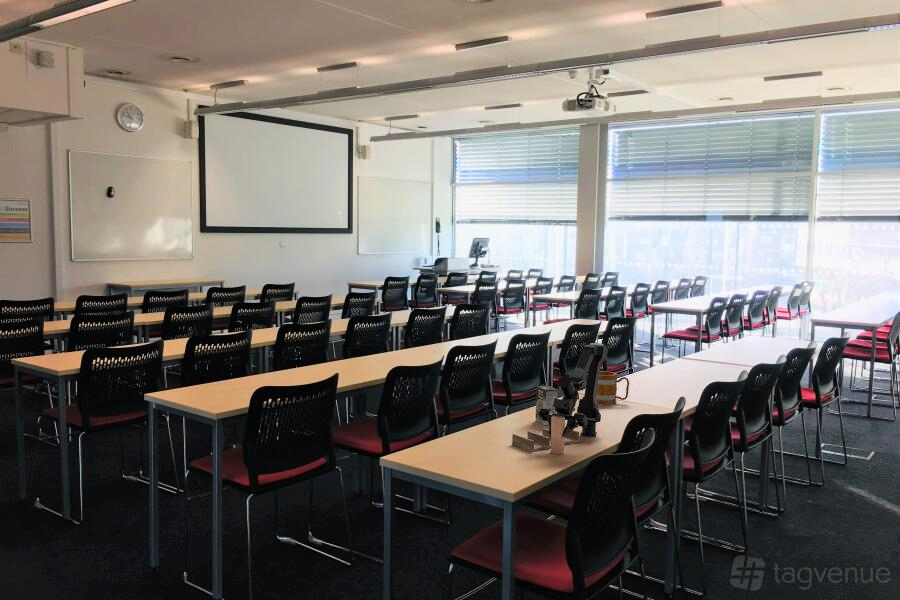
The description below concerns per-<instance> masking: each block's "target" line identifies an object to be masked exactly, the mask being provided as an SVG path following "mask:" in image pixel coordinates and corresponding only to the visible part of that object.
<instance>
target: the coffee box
mask: <svg viewBox="0 0 900 600" xmlns="http://www.w3.org/2000/svg"><path fill="white" fill-rule="evenodd" d="M535 388H536V392H535V394H536V395H535V397H536V399H535V421H536V422H538V423H539V424H541V425H543V426H549V422H548V421H543V420H542V418H541V416H540V414H539V410H540V409H541V408H548V409H550V410H551V412H553V413H557V411H555V407H553V403H554V399H558V394H559V393H558V392H559V391H558V389H557V388H555V387H552V386H551V385H536V387H535Z"/></svg>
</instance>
